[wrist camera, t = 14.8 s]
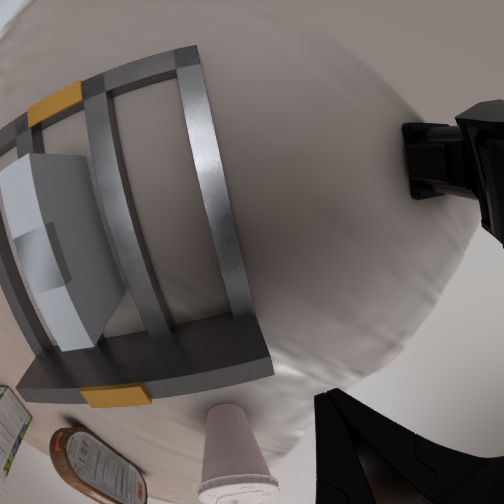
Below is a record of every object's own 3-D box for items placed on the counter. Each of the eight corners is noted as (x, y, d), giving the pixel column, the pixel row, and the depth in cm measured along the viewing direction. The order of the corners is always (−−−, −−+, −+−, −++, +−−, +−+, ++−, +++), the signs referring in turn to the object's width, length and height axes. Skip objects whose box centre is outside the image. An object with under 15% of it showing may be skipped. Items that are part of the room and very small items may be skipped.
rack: (197, 54, 14) (195, 4, 8) (256, 323, 20) (276, 379, 14) (-19, 153, 12) (-68, 156, 6) (50, 360, 18) (24, 405, 12)
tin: (59, 414, 21) (39, 467, 13) (74, 411, 21) (54, 468, 13) (136, 474, 25) (133, 520, 17) (153, 473, 26) (151, 521, 18)
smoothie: (180, 411, 22) (182, 541, 9) (233, 384, 22) (263, 529, 9) (220, 438, 24) (238, 548, 11) (270, 414, 24) (308, 531, 11)
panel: (86, 156, 15) (29, 152, 8) (126, 291, 18) (95, 346, 11) (58, 168, 15) (-3, 173, 8) (98, 297, 18) (61, 351, 11)
